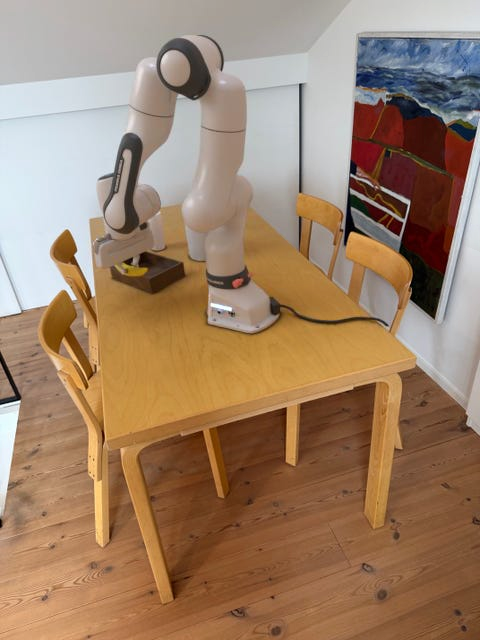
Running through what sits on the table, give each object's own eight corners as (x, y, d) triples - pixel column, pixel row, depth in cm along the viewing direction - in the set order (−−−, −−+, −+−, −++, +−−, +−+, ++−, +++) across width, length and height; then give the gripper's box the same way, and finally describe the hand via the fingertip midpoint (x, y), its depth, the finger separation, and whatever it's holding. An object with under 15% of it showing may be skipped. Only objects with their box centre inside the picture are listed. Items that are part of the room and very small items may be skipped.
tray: (185, 276, 162) (183, 261, 159) (152, 293, 153) (149, 279, 150) (144, 262, 175) (142, 249, 172) (112, 278, 166) (108, 264, 163)
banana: (147, 285, 138) (143, 266, 134) (109, 270, 149) (104, 252, 145) (154, 281, 139) (150, 262, 136) (116, 267, 150) (112, 249, 147)
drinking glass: (163, 252, 183) (157, 215, 175) (148, 252, 184) (140, 216, 176) (169, 245, 188) (163, 210, 181) (154, 245, 190) (147, 210, 182)
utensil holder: (229, 246, 183) (225, 203, 173) (223, 261, 170) (219, 216, 161) (193, 247, 185) (187, 205, 176) (185, 262, 172) (178, 218, 163)
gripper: (97, 242, 128) (109, 286, 135) (153, 220, 140) (160, 261, 148) (85, 238, 131) (96, 281, 138) (140, 217, 144) (148, 257, 151)
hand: (130, 270), depth 143 cm, fingers closed on banana, 3 cm apart
